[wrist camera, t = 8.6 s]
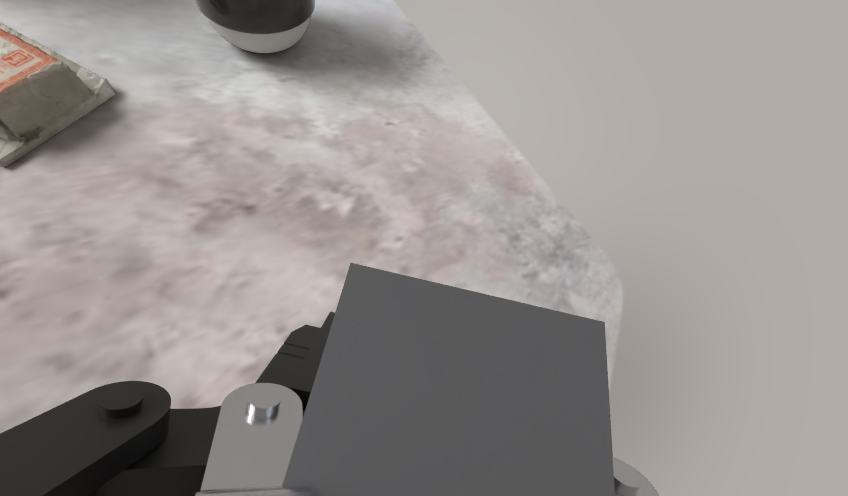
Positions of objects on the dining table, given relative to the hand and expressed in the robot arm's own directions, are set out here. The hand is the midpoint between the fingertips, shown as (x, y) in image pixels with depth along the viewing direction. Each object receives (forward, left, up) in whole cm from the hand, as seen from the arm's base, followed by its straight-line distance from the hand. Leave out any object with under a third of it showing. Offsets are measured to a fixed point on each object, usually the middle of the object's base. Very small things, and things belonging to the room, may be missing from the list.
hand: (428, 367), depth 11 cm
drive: (+1, -2, -4) cm, 5 cm away
